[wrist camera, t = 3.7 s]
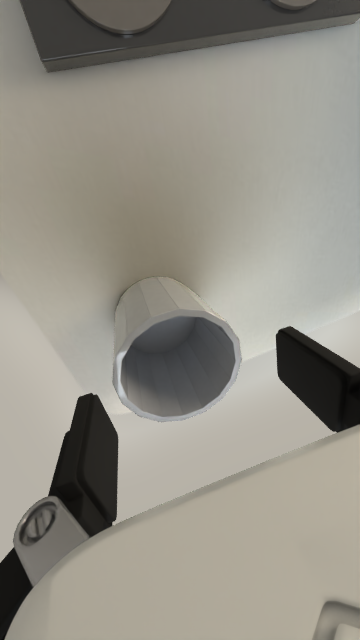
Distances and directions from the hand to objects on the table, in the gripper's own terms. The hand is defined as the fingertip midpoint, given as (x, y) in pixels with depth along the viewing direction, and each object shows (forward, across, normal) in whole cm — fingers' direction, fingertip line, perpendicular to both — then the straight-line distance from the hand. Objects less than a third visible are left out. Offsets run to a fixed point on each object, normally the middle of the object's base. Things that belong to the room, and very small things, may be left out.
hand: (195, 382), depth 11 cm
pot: (+9, +1, 0) cm, 9 cm away
